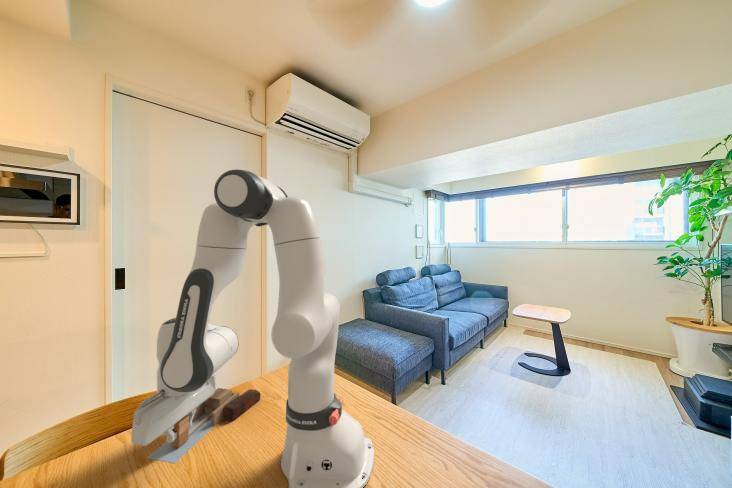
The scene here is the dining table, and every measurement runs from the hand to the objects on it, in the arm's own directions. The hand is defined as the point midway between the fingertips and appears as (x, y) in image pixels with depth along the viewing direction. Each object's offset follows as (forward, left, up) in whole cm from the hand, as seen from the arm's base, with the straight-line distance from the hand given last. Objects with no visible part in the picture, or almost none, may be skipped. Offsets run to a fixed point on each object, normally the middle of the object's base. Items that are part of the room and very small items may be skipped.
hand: (179, 433), depth 63 cm
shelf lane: (0, -6, -4) cm, 7 cm away
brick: (-7, -15, -4) cm, 17 cm away
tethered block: (0, -7, -2) cm, 7 cm away
